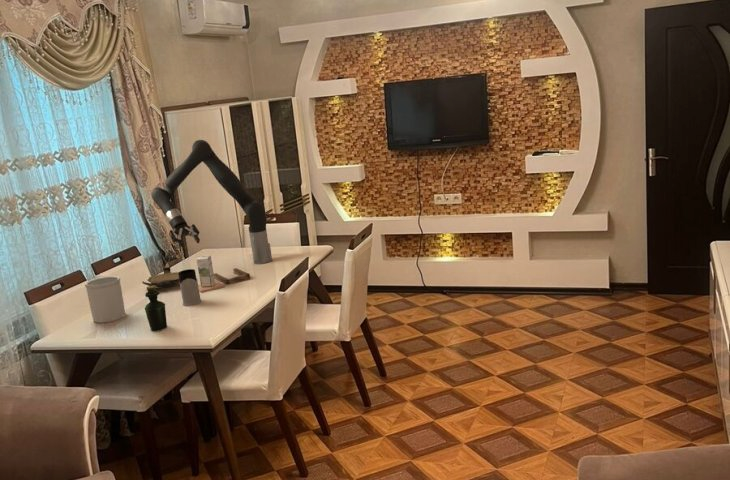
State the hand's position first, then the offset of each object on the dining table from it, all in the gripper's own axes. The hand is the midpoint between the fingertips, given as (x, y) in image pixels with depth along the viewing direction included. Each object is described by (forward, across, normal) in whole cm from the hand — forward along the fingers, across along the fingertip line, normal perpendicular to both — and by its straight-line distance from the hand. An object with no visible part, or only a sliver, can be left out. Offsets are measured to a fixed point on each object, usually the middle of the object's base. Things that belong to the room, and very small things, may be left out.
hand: (191, 244), depth 355 cm
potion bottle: (+46, -45, -20) cm, 68 cm away
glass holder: (+32, -18, -4) cm, 37 cm away
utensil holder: (+21, -51, +7) cm, 55 cm away
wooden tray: (+22, +14, +7) cm, 26 cm away
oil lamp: (+5, -8, +25) cm, 27 cm away
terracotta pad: (+23, -1, +5) cm, 24 cm away
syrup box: (+22, -1, +5) cm, 23 cm away
